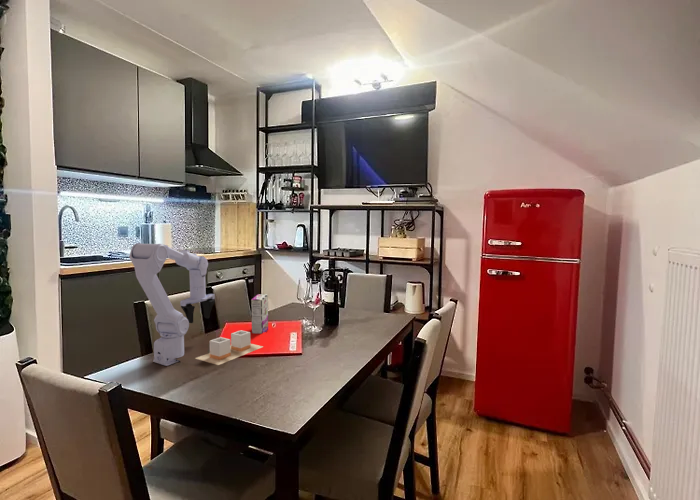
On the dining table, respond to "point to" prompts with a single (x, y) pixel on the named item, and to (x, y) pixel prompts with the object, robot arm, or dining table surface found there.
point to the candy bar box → (259, 313)
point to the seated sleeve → (240, 340)
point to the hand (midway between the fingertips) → (198, 320)
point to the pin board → (233, 355)
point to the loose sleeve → (220, 348)
